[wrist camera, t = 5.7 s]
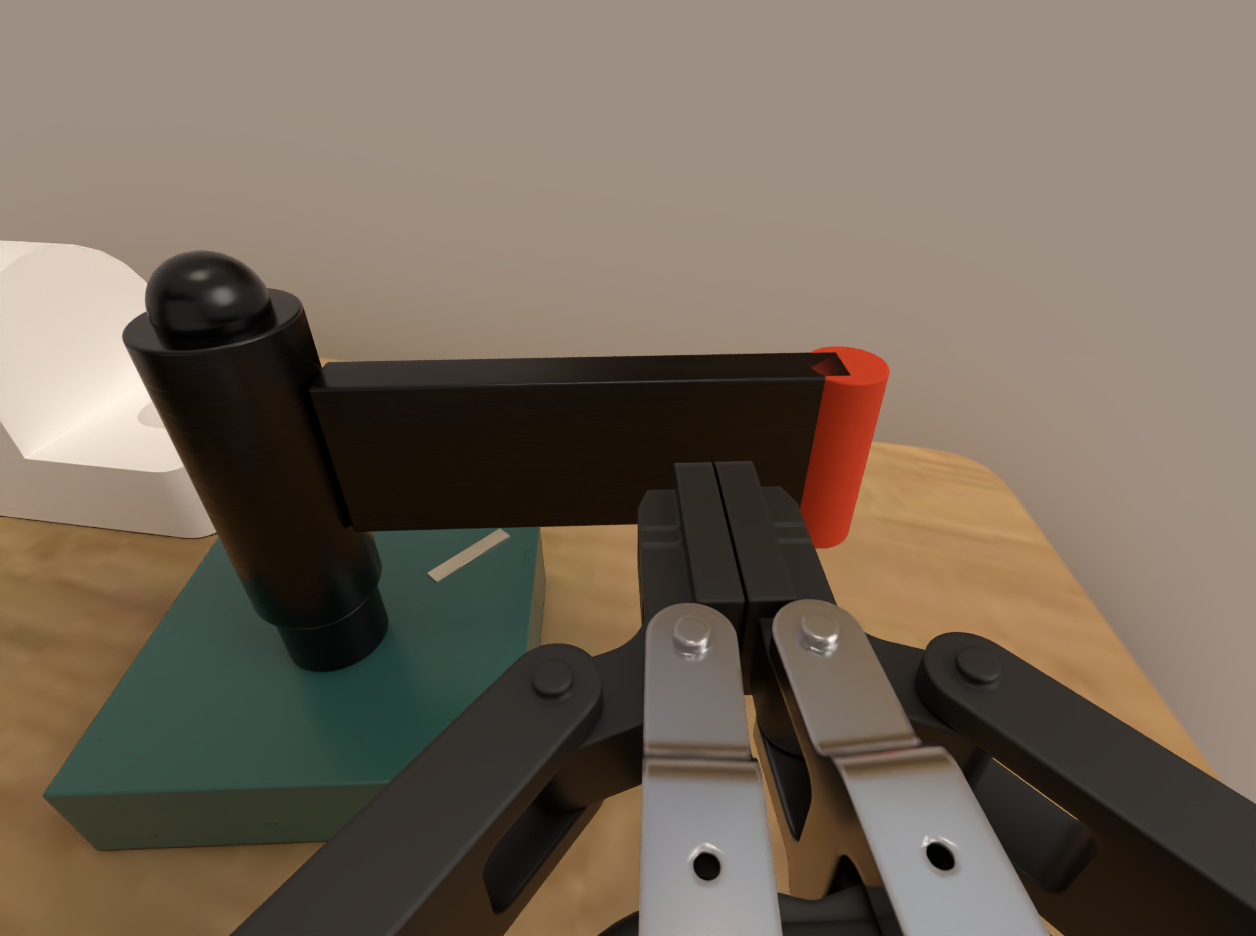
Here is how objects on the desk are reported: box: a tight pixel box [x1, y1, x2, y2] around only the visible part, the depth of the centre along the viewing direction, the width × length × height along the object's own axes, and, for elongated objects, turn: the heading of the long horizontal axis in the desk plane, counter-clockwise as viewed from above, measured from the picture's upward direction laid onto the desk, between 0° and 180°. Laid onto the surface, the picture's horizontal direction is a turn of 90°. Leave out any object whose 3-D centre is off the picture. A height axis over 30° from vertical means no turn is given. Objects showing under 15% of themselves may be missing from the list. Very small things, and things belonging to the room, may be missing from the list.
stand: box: [43, 527, 546, 850], centre depth 21 cm, size 12×10×5 cm
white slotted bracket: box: [0, 241, 216, 538], centre depth 31 cm, size 10×18×11 cm, turn 81°
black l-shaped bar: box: [122, 250, 889, 629], centre depth 17 cm, size 17×4×10 cm, turn 92°
